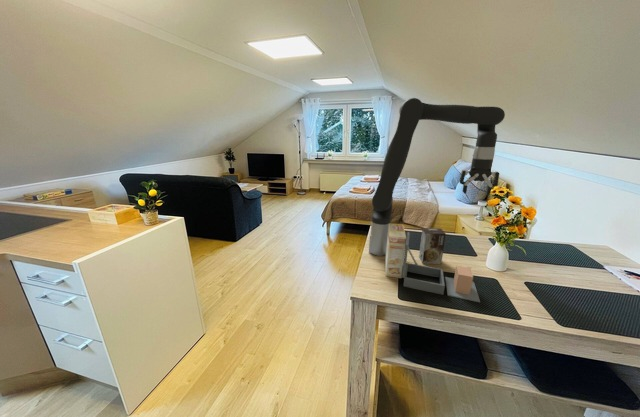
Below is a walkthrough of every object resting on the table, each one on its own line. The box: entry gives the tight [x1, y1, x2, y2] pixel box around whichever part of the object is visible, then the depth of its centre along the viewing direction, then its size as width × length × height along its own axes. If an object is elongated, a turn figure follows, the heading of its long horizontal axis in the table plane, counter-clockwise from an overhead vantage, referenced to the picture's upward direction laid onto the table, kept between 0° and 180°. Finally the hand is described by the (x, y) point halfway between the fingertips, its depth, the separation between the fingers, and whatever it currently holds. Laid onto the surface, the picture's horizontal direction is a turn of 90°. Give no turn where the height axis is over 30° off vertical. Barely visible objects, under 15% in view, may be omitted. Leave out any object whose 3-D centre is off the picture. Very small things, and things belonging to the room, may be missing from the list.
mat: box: [444, 276, 481, 303], centre depth 101 cm, size 11×13×1 cm
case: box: [401, 231, 446, 296], centre depth 103 cm, size 16×13×19 cm
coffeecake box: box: [384, 223, 407, 279], centre depth 113 cm, size 15×7×20 cm, turn 166°
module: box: [453, 265, 474, 295], centre depth 99 cm, size 5×7×8 cm
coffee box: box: [418, 227, 447, 265], centre depth 120 cm, size 9×6×16 cm
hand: (475, 194), depth 111 cm, fingers open, 8 cm apart
